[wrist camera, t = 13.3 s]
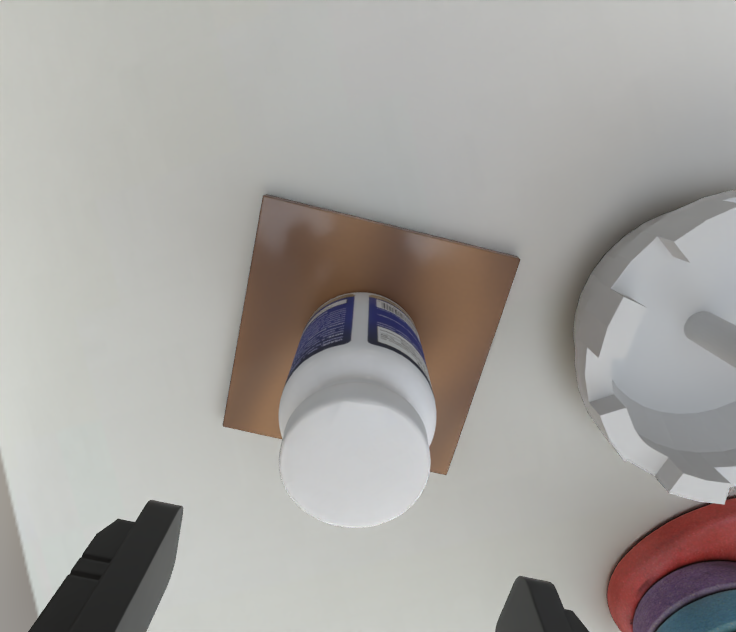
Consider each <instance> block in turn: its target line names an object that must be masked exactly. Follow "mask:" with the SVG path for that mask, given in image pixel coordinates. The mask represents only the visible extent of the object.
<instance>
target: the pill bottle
mask: <svg viewBox="0 0 736 632" xmlns="http://www.w3.org/2000/svg"><path fill="white" fill-rule="evenodd" d="M279 427H280V432H281V436H282V438H283V439H282V444H281V448H280V454H279V471H280V476H281V480H282V483H283V485H284V487H285V489H286V491H287V493H288V495H289V496H290V497H291V499H292V500H293V501H294V502H295V503H296V504H297V505H298V506H299V507H300V508H301V509H302V510H303V511H305V512H306V513H307V514H309V515H311V516H312V517H314V518H316V519H317V520H320V521H322V522H325V523H328V524H330V525H335V526H339V527H346V528H364V527H371V526H375V525H379V524H382V523H385V522H387V521H390V520H392V519H394V518H396V517H398V516H400V515H401V514H402V513H404V512H405V511H406V510H408V509H409V508H410V507H411V506H412V505H413V504H414V503H415V502H416V500H417V499H418V498H419V497H420V495H421V494H422V492H423V490H424V488H425V486H426V483H427V481H428V478H429V474H430V465H431V458H430V450H429V446H430V444H431V442H432V439H433V436H434V433H435V427H436V405H435V398H434V393H433V390H432V386H431V382H430V378H429V374H428V370H427V366H426V362H425V358H424V353H423V349H422V345H421V342H420V338H419V334H418V332H417V329H416V327H415V325H414V323H413V321H412V319H411V318H410V316H409V315H408V314H407V313H406V312H405V310H403V309H402V308H401V307H400V306H399V305H398V304H396V303H395V302H393V301H391V300H390V299H388V298H386V297H383V296H380V295H377V294H373V293H367V292H354V293H347V294H343V295H340V296H337V297H335V298H333V299H331V300H329V301H327V302H326V303H324V304H323V305H322V306H321V307H319V308H318V309H317V310H316V311H315V312H314V314H313V315H312V316H311V317H310V319H309V321H308V322H307V324H306V326H305V328H304V330H303V333H302V336H301V339H300V342H299V345H298V348H297V351H296V354H295V357H294V360H293V363H292V366H291V369H290V372H289V374H288V377H287V380H286V383H285V386H284V389H283V392H282V396H281V400H280V405H279Z"/></svg>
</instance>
